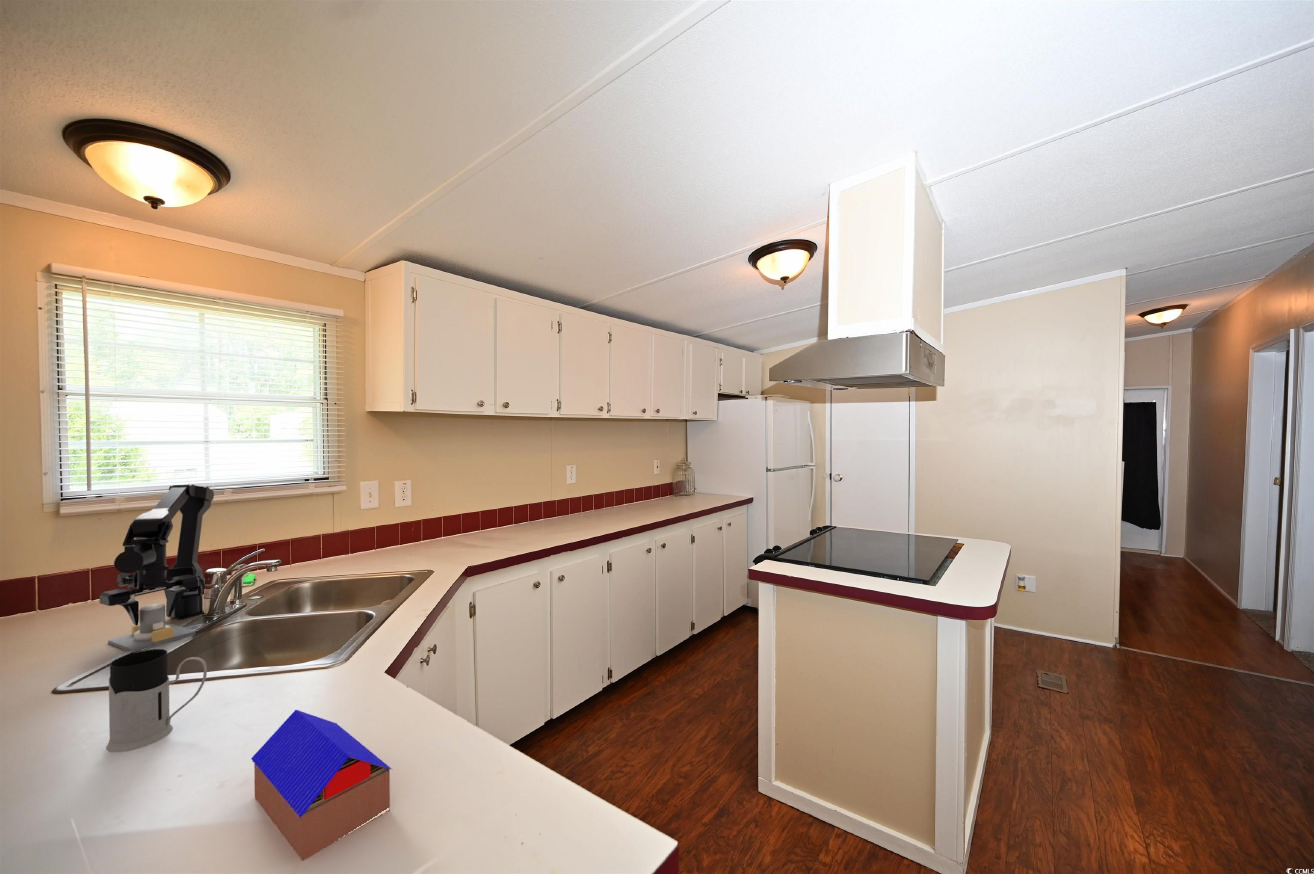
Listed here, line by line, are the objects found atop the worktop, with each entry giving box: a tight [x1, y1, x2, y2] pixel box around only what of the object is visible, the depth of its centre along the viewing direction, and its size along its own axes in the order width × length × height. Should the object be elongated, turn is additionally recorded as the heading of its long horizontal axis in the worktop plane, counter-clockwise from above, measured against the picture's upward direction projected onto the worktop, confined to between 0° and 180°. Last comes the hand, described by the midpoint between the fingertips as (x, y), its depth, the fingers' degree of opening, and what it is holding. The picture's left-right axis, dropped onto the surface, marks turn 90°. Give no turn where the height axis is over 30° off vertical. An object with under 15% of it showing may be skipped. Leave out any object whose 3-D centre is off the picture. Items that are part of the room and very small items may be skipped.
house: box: [250, 709, 393, 862], centre depth 78 cm, size 12×20×12 cm, turn 53°
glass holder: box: [105, 648, 208, 753], centre depth 96 cm, size 9×14×15 cm, turn 112°
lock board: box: [107, 623, 196, 653], centre depth 140 cm, size 13×13×4 cm
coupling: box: [138, 603, 166, 634], centre depth 140 cm, size 7×5×6 cm
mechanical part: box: [231, 564, 256, 584], centre depth 190 cm, size 12×6×8 cm, turn 32°
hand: (152, 620), depth 140 cm, fingers open, 6 cm apart
